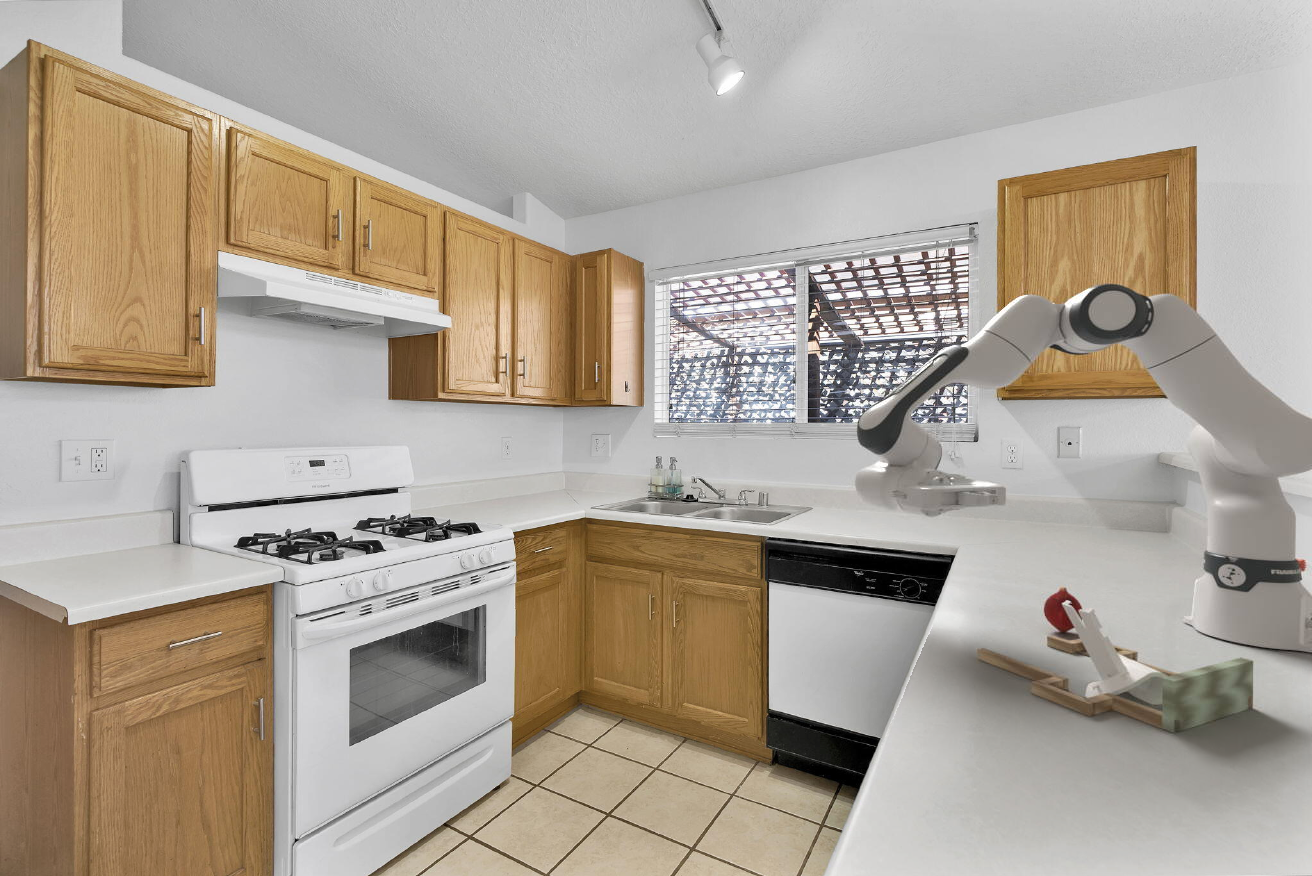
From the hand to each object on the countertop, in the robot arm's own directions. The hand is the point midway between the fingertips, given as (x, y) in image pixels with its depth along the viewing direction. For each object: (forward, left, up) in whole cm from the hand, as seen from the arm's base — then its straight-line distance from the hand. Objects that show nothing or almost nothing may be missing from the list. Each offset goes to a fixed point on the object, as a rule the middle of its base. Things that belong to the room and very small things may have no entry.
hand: (993, 500), depth 103 cm
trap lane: (0, +17, -24) cm, 29 cm away
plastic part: (+3, +20, -24) cm, 32 cm away
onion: (-17, +1, -24) cm, 29 cm away
